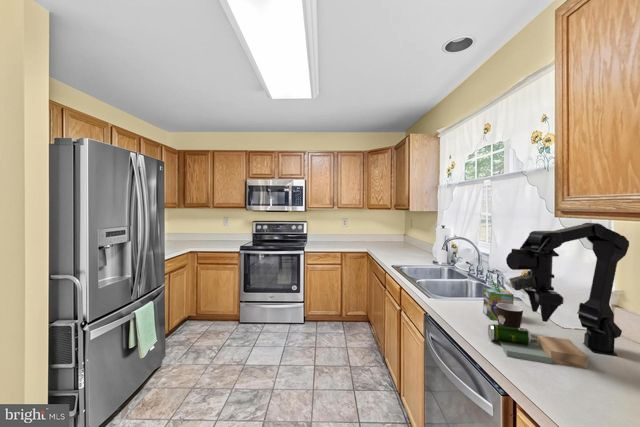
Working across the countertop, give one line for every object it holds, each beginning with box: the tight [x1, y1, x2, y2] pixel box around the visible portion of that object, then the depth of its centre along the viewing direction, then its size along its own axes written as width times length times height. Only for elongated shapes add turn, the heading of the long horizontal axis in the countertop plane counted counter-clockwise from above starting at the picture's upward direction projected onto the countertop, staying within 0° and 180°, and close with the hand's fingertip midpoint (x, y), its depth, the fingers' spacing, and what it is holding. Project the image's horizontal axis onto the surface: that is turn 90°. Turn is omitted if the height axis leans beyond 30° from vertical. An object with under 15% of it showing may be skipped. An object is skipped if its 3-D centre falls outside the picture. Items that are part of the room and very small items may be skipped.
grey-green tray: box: [498, 337, 553, 364], centre depth 98 cm, size 12×14×2 cm
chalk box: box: [482, 281, 515, 321], centre depth 127 cm, size 9×9×15 cm
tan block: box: [536, 334, 588, 369], centre depth 94 cm, size 9×12×4 cm
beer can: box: [487, 323, 532, 345], centre depth 102 cm, size 5×5×12 cm
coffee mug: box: [492, 303, 524, 328], centre depth 112 cm, size 12×9×10 cm
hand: (539, 316), depth 96 cm, fingers open, 9 cm apart
